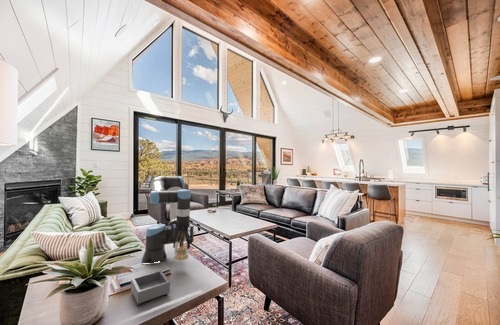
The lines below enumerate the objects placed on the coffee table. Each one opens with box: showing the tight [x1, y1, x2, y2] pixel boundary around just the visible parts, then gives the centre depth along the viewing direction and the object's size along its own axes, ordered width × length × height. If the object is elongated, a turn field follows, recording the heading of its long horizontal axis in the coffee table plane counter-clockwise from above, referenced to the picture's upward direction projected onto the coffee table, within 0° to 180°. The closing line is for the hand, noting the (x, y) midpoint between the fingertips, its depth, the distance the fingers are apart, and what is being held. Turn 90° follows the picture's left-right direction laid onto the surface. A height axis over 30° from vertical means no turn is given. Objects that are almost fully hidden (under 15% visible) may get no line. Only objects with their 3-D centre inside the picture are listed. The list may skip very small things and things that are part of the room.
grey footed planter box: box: [130, 269, 171, 307], centre depth 102 cm, size 14×14×7 cm
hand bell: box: [173, 231, 189, 261], centre depth 126 cm, size 8×8×16 cm
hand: (181, 253), depth 126 cm, fingers closed on hand bell, 6 cm apart
